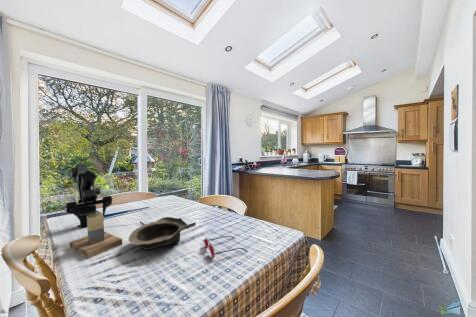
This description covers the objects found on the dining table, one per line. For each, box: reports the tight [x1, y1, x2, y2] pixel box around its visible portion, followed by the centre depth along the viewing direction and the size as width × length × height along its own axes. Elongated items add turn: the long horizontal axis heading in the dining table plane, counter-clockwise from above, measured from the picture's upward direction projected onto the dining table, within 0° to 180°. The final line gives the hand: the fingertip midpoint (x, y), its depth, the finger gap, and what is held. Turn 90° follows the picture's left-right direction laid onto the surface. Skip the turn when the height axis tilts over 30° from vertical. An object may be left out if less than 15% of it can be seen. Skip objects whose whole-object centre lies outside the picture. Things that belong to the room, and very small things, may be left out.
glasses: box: [202, 235, 247, 259], centre depth 92 cm, size 14×16×5 cm
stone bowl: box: [128, 216, 188, 250], centre depth 97 cm, size 25×25×9 cm
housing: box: [86, 211, 105, 244], centre depth 94 cm, size 6×6×12 cm
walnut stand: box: [69, 231, 124, 259], centre depth 95 cm, size 18×14×2 cm
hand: (92, 218), depth 100 cm, fingers open, 9 cm apart
